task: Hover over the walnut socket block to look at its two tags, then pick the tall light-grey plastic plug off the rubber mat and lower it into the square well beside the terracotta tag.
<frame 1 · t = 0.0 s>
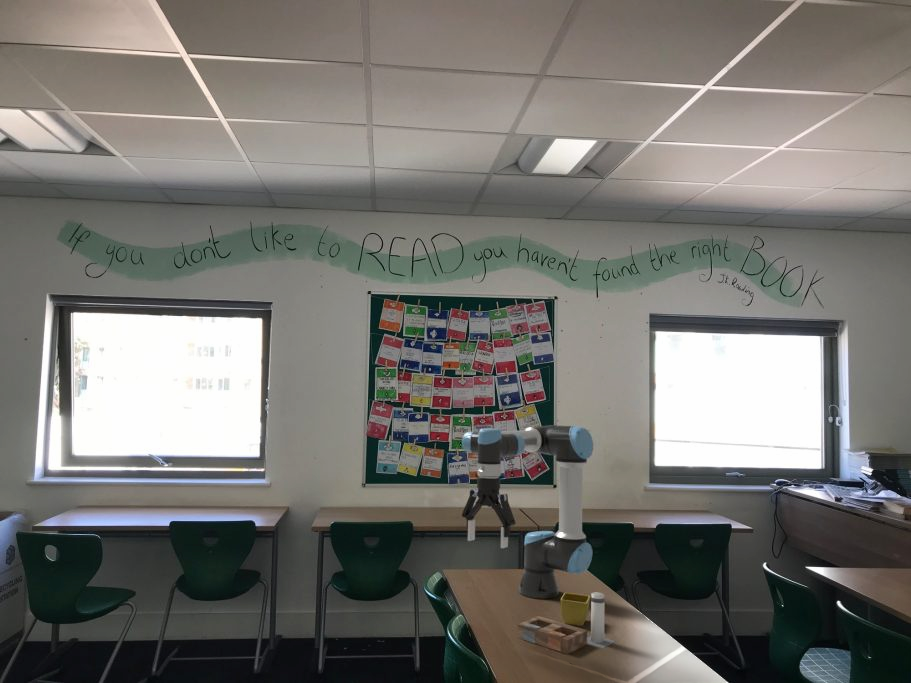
hand: (487, 543, 209), 28 cm above the table, fingers open, 13 cm apart
flower pot: (575, 625, 217), on the table
plug: (597, 641, 201), point 1 cm above the table, touching mat
mat: (597, 644, 200), on the table
socket block: (552, 644, 200), on the table
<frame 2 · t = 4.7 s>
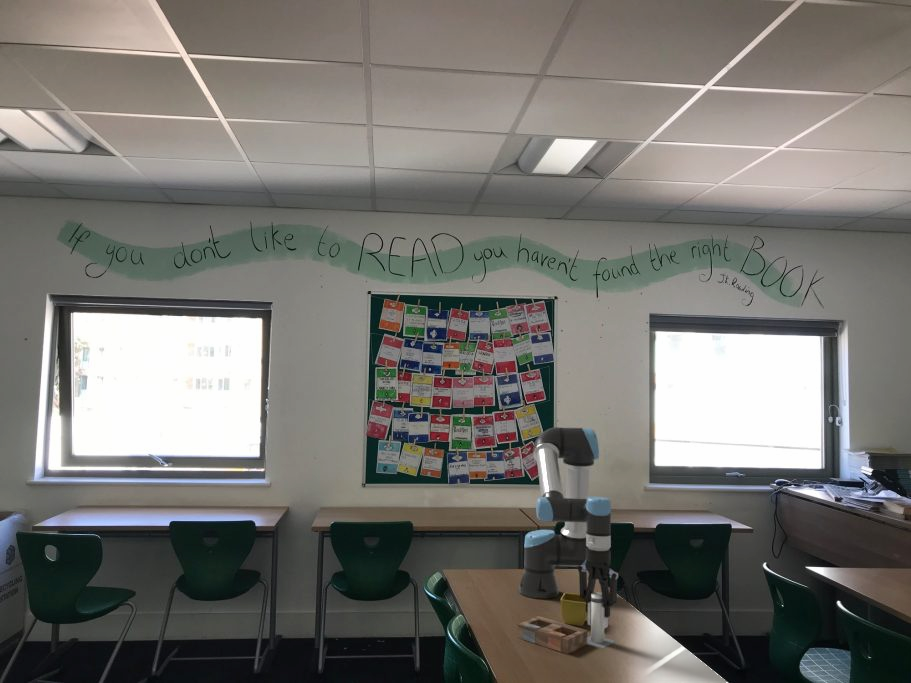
hand: (597, 625, 201), 6 cm above the table, fingers closed on plug, 4 cm apart
plug: (597, 641, 201), point 1 cm above the table, touching gripper, mat
everything else where it was.
when the fingers open (7 cm above the table, at t = 9.3 s): plug drops 2 cm, resting in socket block.
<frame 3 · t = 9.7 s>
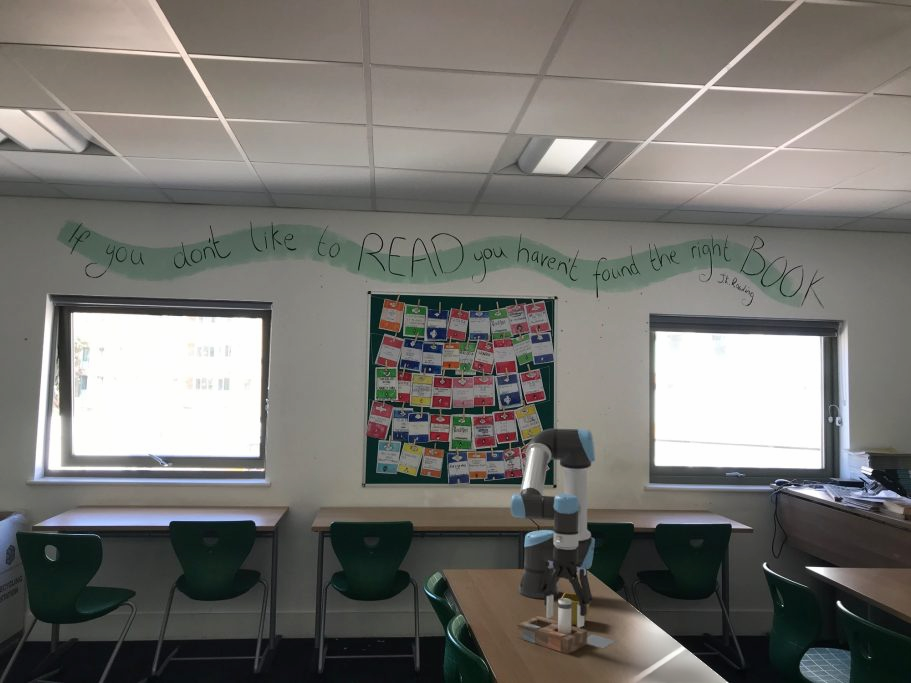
hand: (564, 621, 197), 8 cm above the table, fingers open, 10 cm apart
plug: (564, 648, 197), resting in socket block
everything else where it was.
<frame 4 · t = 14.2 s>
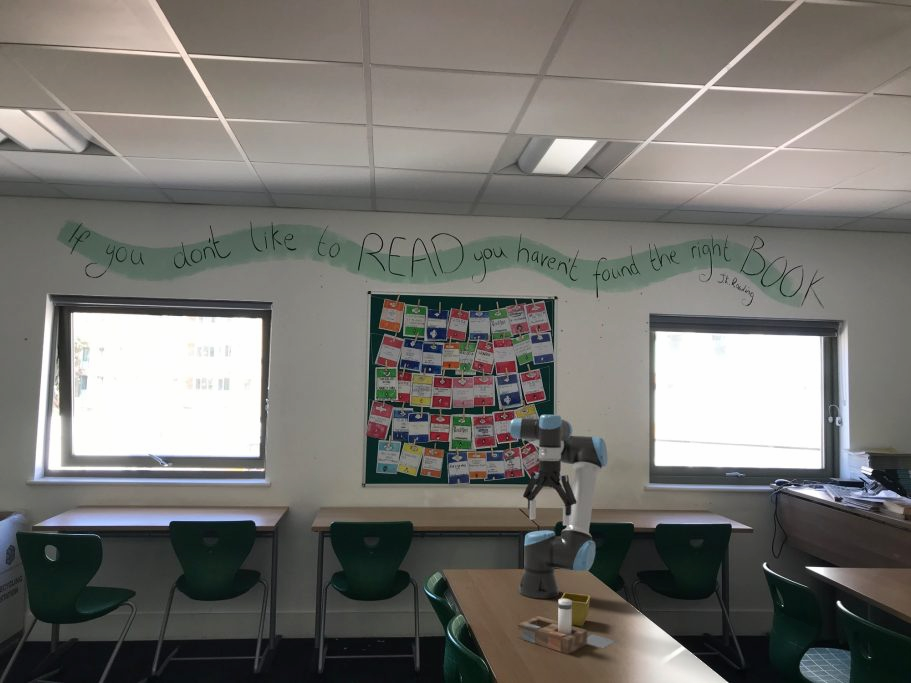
hand: (548, 522, 224), 33 cm above the table, fingers open, 13 cm apart
nothing on the table moved.
at the end: plug 0.0 cm from the target spot on the socket block, point 0.0 cm above the socket block's base; plug tilted 0°; the gripper is holding nothing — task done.
